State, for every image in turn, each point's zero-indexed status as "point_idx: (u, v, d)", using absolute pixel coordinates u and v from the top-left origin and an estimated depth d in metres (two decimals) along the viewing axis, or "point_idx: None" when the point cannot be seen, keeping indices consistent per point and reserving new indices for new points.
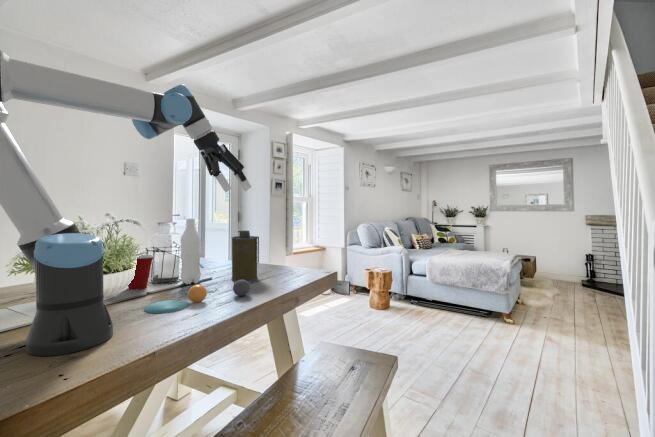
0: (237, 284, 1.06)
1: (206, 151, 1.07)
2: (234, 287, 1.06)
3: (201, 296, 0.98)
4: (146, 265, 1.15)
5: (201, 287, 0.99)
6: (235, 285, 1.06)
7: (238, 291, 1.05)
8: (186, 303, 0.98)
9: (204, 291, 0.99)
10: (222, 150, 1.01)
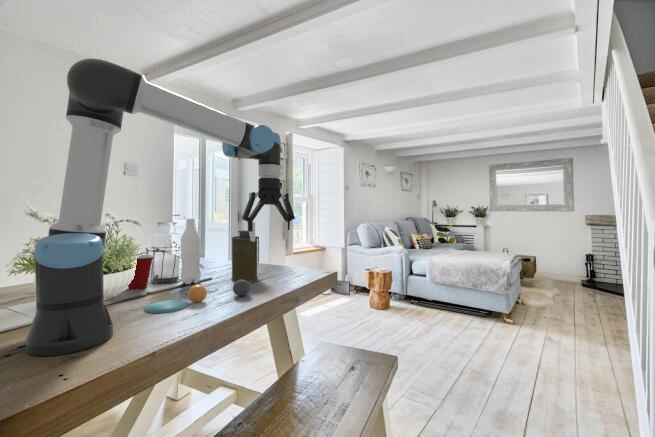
0: (237, 284, 1.06)
1: (264, 192, 1.10)
2: (234, 287, 1.06)
3: (201, 296, 0.98)
4: (146, 265, 1.15)
5: (201, 287, 0.99)
6: (235, 285, 1.06)
7: (238, 291, 1.05)
8: (186, 303, 0.98)
9: (204, 291, 0.99)
10: None
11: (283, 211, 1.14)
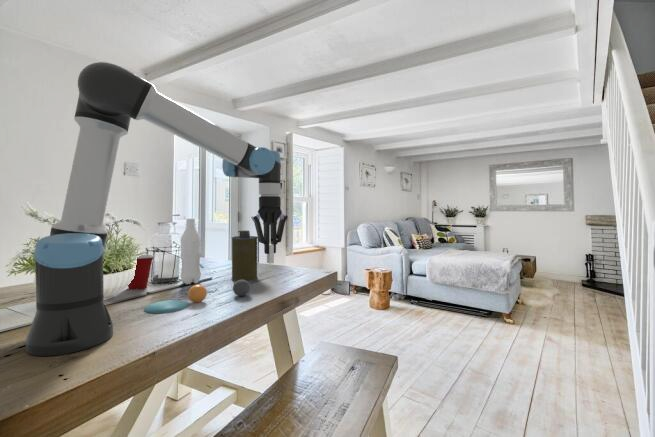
0: (237, 284, 1.06)
1: (263, 209, 1.10)
2: (234, 287, 1.06)
3: (201, 296, 0.98)
4: (146, 265, 1.15)
5: (201, 287, 0.99)
6: (235, 285, 1.06)
7: (238, 291, 1.05)
8: (186, 303, 0.98)
9: (204, 291, 0.99)
10: None
11: (274, 232, 1.12)
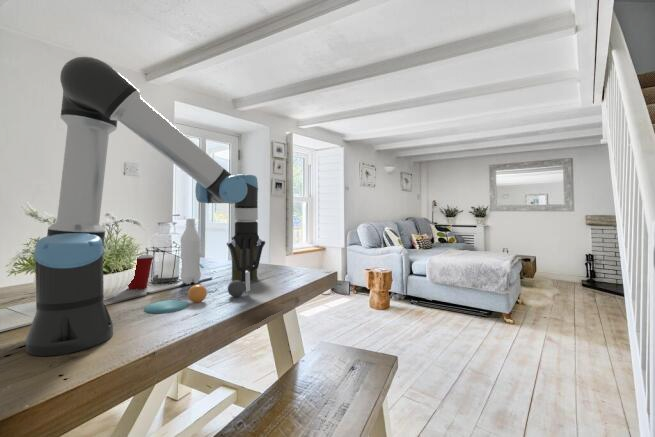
0: (230, 287, 1.04)
1: (239, 236, 1.05)
2: (229, 290, 1.05)
3: (201, 296, 0.98)
4: (146, 265, 1.15)
5: (201, 287, 0.99)
6: (229, 288, 1.05)
7: (234, 294, 1.04)
8: (186, 303, 0.98)
9: (204, 291, 0.99)
10: None
11: (251, 259, 1.08)
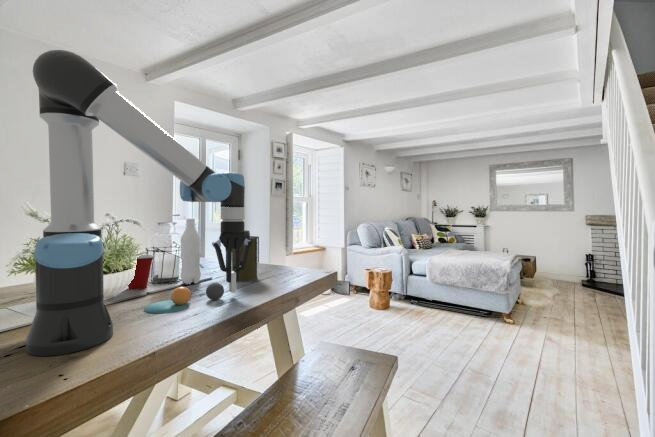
0: None
1: (224, 235, 1.03)
2: (221, 296, 1.04)
3: (182, 295, 0.95)
4: (146, 265, 1.15)
5: (173, 295, 0.95)
6: None
7: (222, 292, 1.02)
8: (186, 303, 0.98)
9: (178, 292, 0.95)
10: None
11: (237, 259, 1.05)
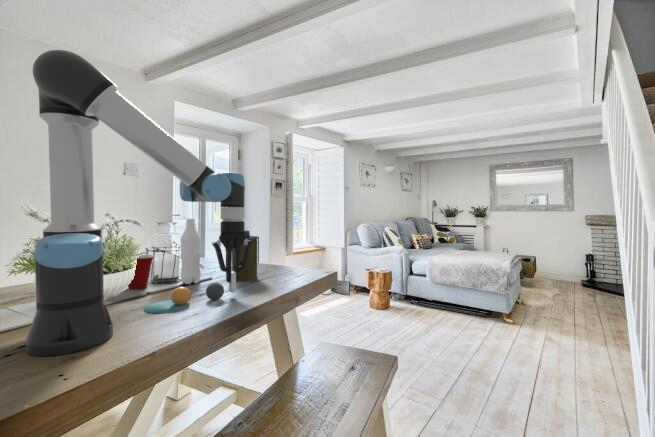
0: None
1: (224, 235, 1.03)
2: (221, 296, 1.04)
3: (182, 295, 0.95)
4: (146, 265, 1.15)
5: (173, 295, 0.95)
6: None
7: (222, 292, 1.02)
8: (186, 303, 0.98)
9: (177, 292, 0.95)
10: None
11: (237, 259, 1.05)
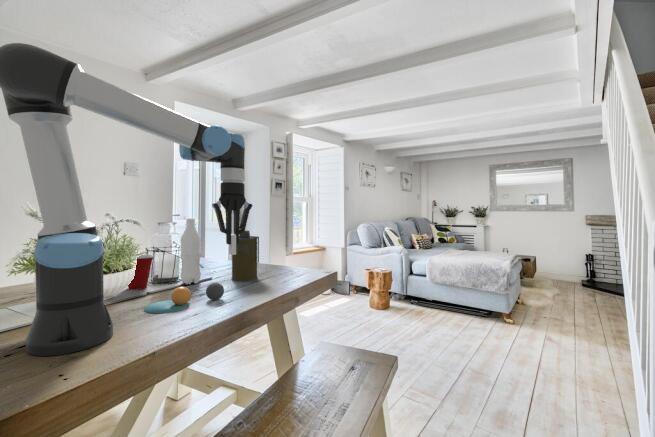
0: None
1: (224, 196, 1.02)
2: (221, 296, 1.04)
3: (182, 295, 0.95)
4: (146, 265, 1.15)
5: (173, 295, 0.95)
6: None
7: (222, 292, 1.02)
8: (186, 303, 0.98)
9: (177, 292, 0.95)
10: None
11: (237, 221, 1.05)
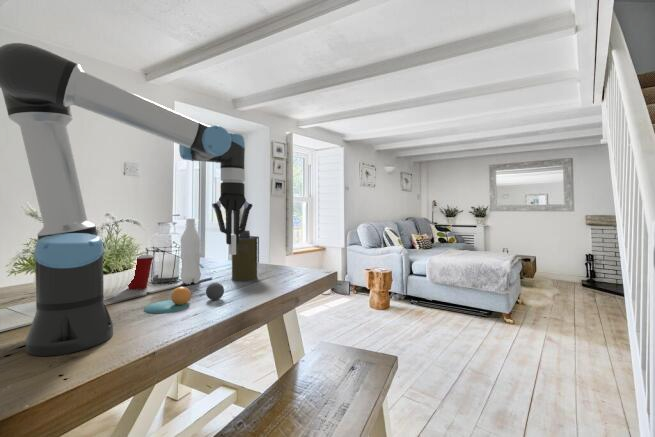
0: None
1: (224, 196, 1.02)
2: (221, 296, 1.04)
3: (182, 295, 0.95)
4: (146, 265, 1.15)
5: (173, 295, 0.95)
6: None
7: (222, 292, 1.02)
8: (186, 303, 0.98)
9: (177, 292, 0.95)
10: None
11: (237, 221, 1.05)
